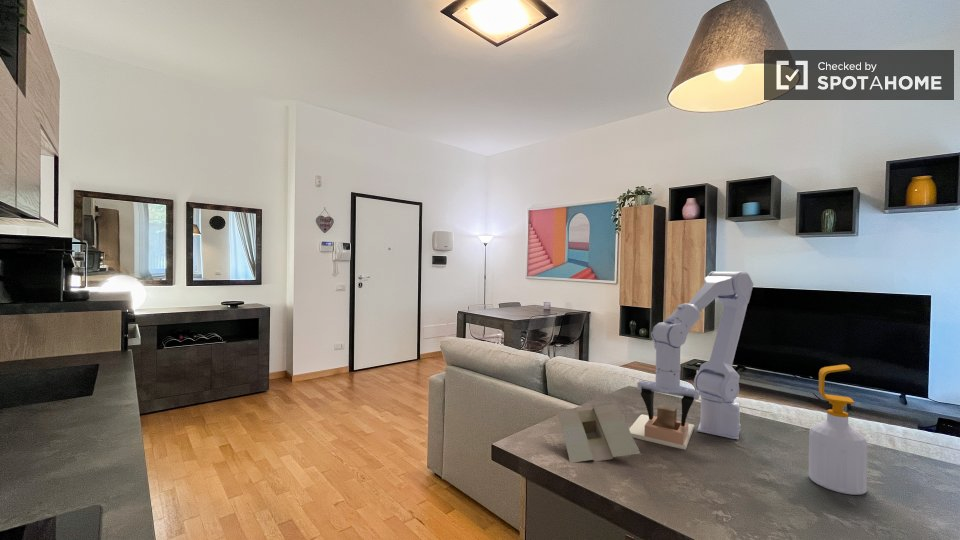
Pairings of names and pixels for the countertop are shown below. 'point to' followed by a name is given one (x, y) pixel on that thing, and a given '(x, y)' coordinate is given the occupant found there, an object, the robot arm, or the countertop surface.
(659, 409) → the walnut block
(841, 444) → the soap bottle
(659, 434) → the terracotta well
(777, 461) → the countertop surface
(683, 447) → the cream board
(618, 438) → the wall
